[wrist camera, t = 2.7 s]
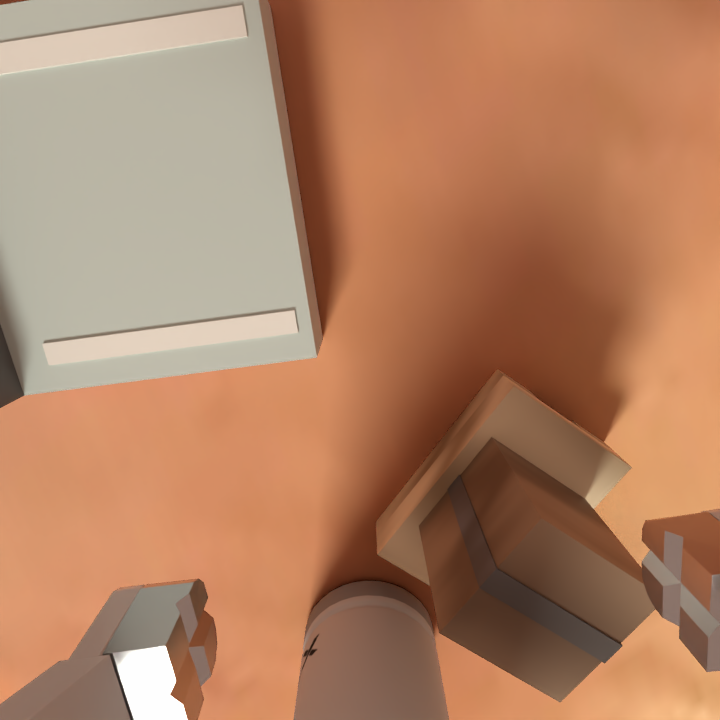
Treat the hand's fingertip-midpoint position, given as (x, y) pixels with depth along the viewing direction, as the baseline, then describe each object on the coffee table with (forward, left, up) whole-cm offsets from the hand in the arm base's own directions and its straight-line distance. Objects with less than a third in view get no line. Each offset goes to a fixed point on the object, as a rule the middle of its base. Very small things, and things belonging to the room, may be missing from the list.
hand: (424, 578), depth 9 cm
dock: (+8, -8, -12) cm, 17 cm away
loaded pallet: (-4, +6, -12) cm, 14 cm away
